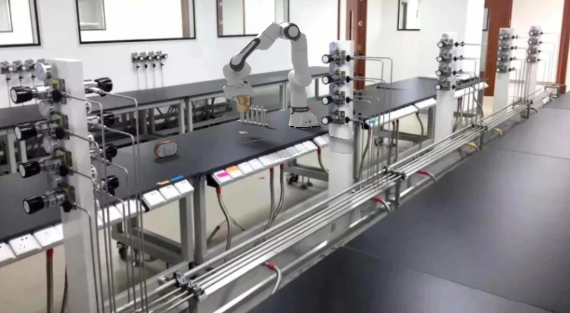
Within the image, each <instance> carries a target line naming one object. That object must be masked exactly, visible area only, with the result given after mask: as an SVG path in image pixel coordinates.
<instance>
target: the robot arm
mask: <svg viewBox="0 0 570 313" xmlns="http://www.w3.org/2000/svg"><path fill="white" fill-rule="evenodd" d="M279 38H280V39H283V40H289V41H290V55H291V58H290V60H291V64H292V66H293V67H292V68H293V69H291V70H290V71H289V72H288V74H287V80H288V83H289V87H290V108H289V109H290V110H289V111H290V112H289V113H290V115H289V116H290V118H289V122H288V125H289V126H288V127H290V126H294V127H293V128H296V127H308V126H310V125H315V124H317V123H318V120H317V119H318V118H317V116H316V115H315V114H313V113H312V112H311V110H312V108H313V107H312V106H308V93H307V90H306V88H307V87H309V86H311V84H312V83H313V77H312V75H311V71H310V66H309V59H308V57H309V56H308V53H309V52H308V41H307V35H306V33H304V32H301V30H300V28H299V26H298V25H297V24H296V23H294V22H289V21H286V22H281V23H277V22H274V21H272V22H268V24H267V25H266V26H265V27H263V29H261V31H260V32H259V33H258V34H257V36H255V37H254V38H252V39H250V41H248V43H246V44H245V46H244V47H243V48H242V49H241V50H240V51H239V52H238V53H236V54H235V55H233V56H232V57H231V58H230V60H229V62H228V63H226V64H224V65H223V66H222V74H223V77H224V79H225V81H226V82H227V85H224V86H223V87H222V90H223V92H224V96H225V98H226V99H227V100H234V101H235V103H236V105H237V104H239V103H240V100H238V99H237V96H243V95H247V96H250V98H252V97H254V95H255V91H254V88H253V86H252V85H251V84H250V82H249V80H243V79H244V78H247V77H249V76H250V74H251V73H252V68H251V65H250V64H249V63H248V62H247V59H248V58H249V57H250V56H251V55H252V54H253V53H254V52H256V50H260V51H267V50H269V49H270V48H271V47H272V46H273V44H274V43H276V40H278V39H279Z"/></svg>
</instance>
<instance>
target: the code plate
mask: <svg viewBox="0 0 570 313" xmlns="http://www.w3.org/2000/svg"><path fill="white" fill-rule="evenodd" d="M238 133H239V134H249V132H248V131H245V130H244V131H239V132H238Z"/></svg>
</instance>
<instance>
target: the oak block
mask: <svg viewBox="0 0 570 313" xmlns="http://www.w3.org/2000/svg"><path fill="white" fill-rule="evenodd" d="M237 99H238V100H240V103H239V104H237V103H236V111H237V112H239V113H240V112H241V114H242V113H243V112H244V113H246V112H249V113H251V109H250V107H251V97H250V96H247V95H243V96H237Z"/></svg>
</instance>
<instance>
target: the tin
mask: <svg viewBox="0 0 570 313" xmlns="http://www.w3.org/2000/svg"><path fill="white" fill-rule="evenodd" d="M178 150H179V145H178V142H177V141H175V140H173V139H169V140H163V141H159V142H157V143H156V144H155V146H154V147H153V153H154V156H155V157H157V158H160V157H162V158H166V157H165V156H167V157H169V156H174V155H176V154H177V152H178Z"/></svg>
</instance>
